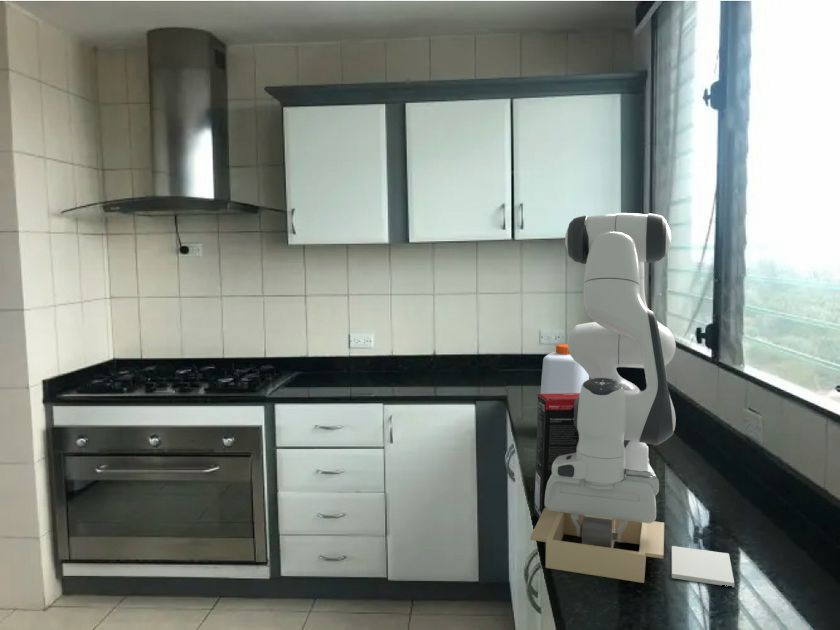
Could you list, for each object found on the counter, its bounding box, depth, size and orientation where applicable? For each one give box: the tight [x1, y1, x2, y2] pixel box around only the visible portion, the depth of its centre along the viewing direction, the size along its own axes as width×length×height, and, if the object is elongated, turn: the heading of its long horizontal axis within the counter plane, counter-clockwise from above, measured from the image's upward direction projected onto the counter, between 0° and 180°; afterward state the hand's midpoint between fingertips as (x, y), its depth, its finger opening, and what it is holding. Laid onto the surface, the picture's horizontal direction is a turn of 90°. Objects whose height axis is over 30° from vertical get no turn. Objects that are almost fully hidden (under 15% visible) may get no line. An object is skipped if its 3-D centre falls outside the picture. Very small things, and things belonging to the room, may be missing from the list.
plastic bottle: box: [539, 343, 590, 394], centre depth 212 cm, size 15×15×28 cm
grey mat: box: [671, 545, 735, 588], centre depth 125 cm, size 12×10×1 cm
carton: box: [530, 508, 665, 584], centre depth 130 cm, size 17×23×5 cm
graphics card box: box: [533, 393, 580, 520], centre depth 146 cm, size 17×7×27 cm, turn 96°
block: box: [581, 515, 615, 548], centre depth 130 cm, size 11×5×8 cm, turn 160°
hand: (598, 538), depth 130 cm, fingers closed on block, 5 cm apart
